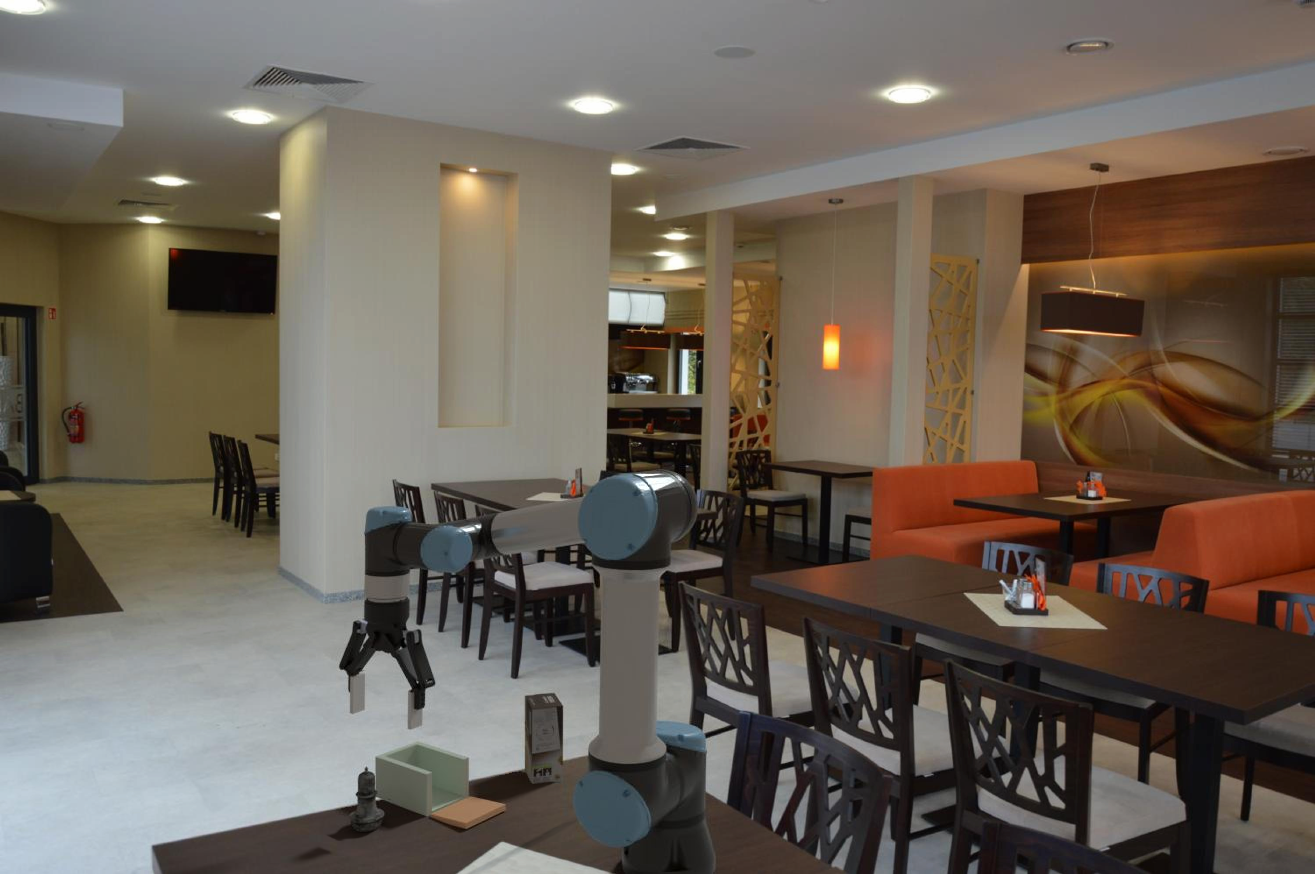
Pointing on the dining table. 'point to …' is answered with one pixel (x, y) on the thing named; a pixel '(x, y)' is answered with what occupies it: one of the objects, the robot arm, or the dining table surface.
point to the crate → (422, 777)
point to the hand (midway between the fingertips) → (385, 719)
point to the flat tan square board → (468, 812)
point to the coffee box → (544, 738)
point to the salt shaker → (366, 804)
